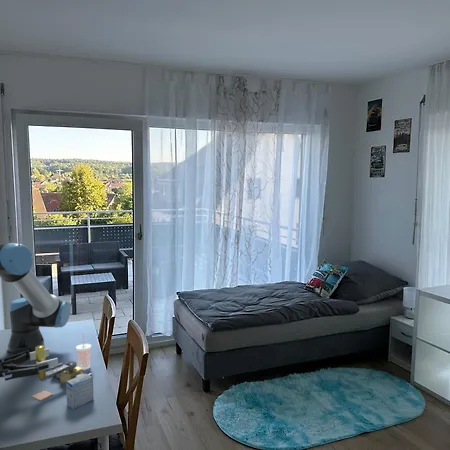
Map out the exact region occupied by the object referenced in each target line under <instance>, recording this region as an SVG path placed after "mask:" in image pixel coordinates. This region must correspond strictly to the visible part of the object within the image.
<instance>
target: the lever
mask: <svg viewBox="0 0 450 450" xmlns="http://www.w3.org/2000/svg"><path fill="white" fill-rule="evenodd" d="M45 349H46V348H45V344H44V345H39V346H36V347H35V351H36V359H35V364H38V363H39V362H43V361H46V357H45ZM35 351H34V352H35ZM77 364H78V362H77V361H74V360H73V361H67V362H65V364H63V366H61V367H58V368H56V369H54V370H52V371H50V370H48V371H49V372H47V369H45V370H41V371H39V374H38V375H36V378H37V380H38V381H41V382H44V381H46V380H49V379H50V378H51V379H52V377H53V376H55V375H57V374H60V373H62V372H64V371H66V370H68V369H73V368H75V367H76V366H77V367H78V365H77ZM46 372H47V373H46Z"/></svg>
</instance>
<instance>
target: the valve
mask: <svg viewBox="0 0 450 450" xmlns="http://www.w3.org/2000/svg"><path fill="white" fill-rule="evenodd" d="M63 365H64V363H63V362H61V363H60V362H59V363H58V366H56V367H52V368H50V370H51V371H52V370H54V369H56V368H58V367H61V366H63ZM83 372H84V370H83V369H82V368H80V367H78V365H77V366H76V367H75V368H73V369H68V370H66V371H64V372H62V373H60V374H57V375H55V376H53V377H51V379H53V380H54V379H56V378H59V379H60V380H59V381H60V384H62V385H65V386H66V382H67V381H69V380H71V379H74V378H76V377H78V376H81V375H84V374H85V373H83ZM87 374H88V375H90V376H91V377H93V373H91V372H90V373H87Z"/></svg>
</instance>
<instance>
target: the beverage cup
mask: <svg viewBox="0 0 450 450" xmlns="http://www.w3.org/2000/svg"><path fill="white" fill-rule="evenodd" d="M84 336H85V334H82V343H80V344H77V345H76V346H75V350H76V355H77V356H76V357H77V364H78V365H77V367H80V368H82V369H83V371H84V370H85V371H86V370H89V369H90V368H91V356H92V355H91V353H92V352H91V351H92V350H91V349H92V344H91V343H85V337H84Z"/></svg>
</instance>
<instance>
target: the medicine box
mask: <svg viewBox="0 0 450 450" xmlns="http://www.w3.org/2000/svg"><path fill="white" fill-rule="evenodd" d="M83 374H84V375H81V376H78V377H76V378H74V379H71V380H69V381H67V382H66V385H65V391H66V405H67V406H68V407H70V408H71V409H72V410H73V409H77V408H79V407H81V406H83V405H85V404H88V403H89V402H92V401H94V400H95V399H94V397H95V396H94V377H93V376H92V377H91V376H90V375H88V374H89V373H83Z"/></svg>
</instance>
